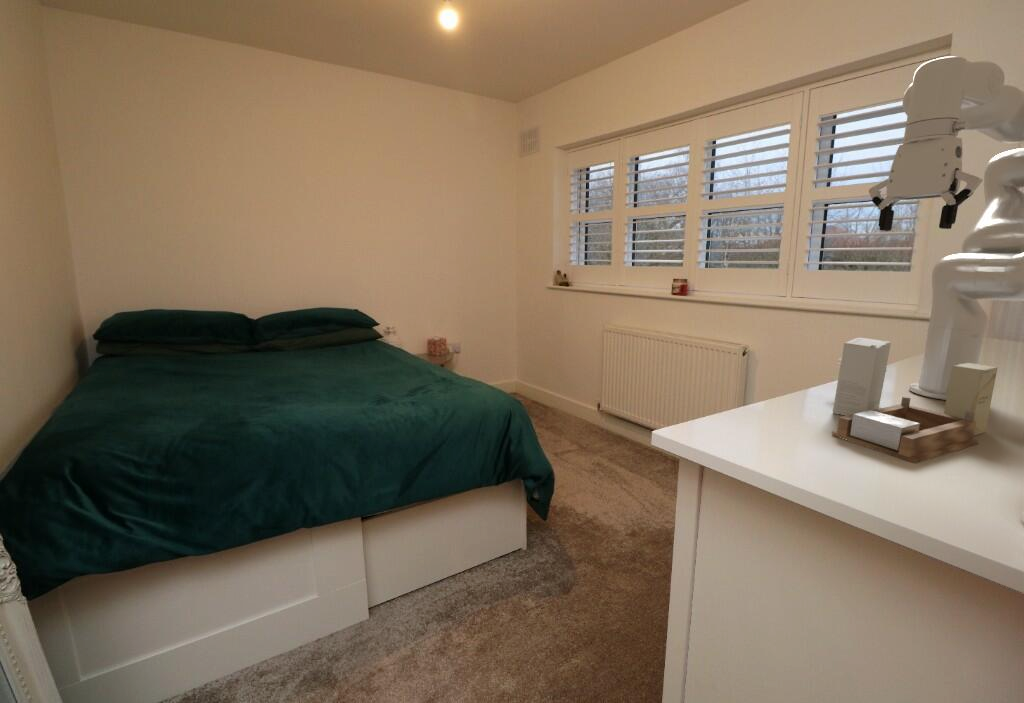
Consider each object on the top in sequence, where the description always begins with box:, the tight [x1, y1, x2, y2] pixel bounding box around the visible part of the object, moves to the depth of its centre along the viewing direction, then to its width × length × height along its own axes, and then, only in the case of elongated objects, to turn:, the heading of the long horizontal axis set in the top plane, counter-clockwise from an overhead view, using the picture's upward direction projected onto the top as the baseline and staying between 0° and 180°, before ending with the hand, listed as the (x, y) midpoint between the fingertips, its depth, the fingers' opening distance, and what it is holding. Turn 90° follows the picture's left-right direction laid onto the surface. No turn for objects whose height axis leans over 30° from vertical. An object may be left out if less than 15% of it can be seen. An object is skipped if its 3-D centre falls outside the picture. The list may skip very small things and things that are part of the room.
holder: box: [831, 396, 980, 464], centre depth 83 cm, size 19×13×5 cm, turn 115°
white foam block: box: [850, 410, 920, 450], centre depth 81 cm, size 5×7×4 cm
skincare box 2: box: [943, 363, 999, 436], centre depth 87 cm, size 6×4×12 cm
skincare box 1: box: [832, 337, 892, 416], centre depth 96 cm, size 8×6×15 cm
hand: (913, 229), depth 93 cm, fingers open, 9 cm apart
